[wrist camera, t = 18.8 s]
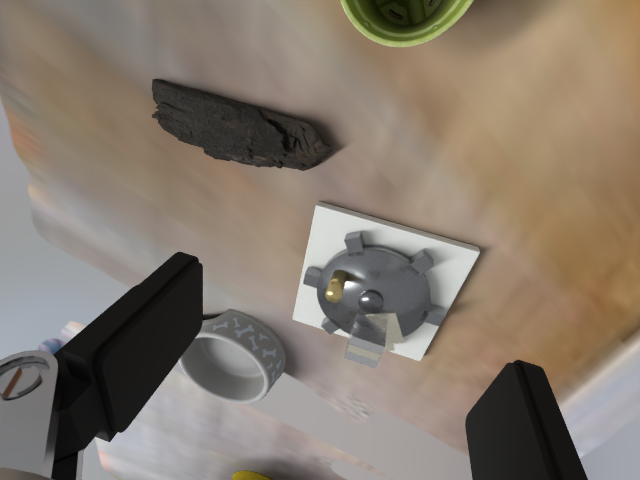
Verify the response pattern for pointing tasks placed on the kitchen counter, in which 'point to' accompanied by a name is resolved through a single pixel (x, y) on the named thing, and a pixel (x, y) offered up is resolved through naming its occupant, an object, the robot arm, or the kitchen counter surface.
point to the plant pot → (404, 19)
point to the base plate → (446, 253)
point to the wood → (236, 129)
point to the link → (366, 340)
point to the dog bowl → (234, 358)
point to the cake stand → (248, 476)
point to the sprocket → (375, 289)
